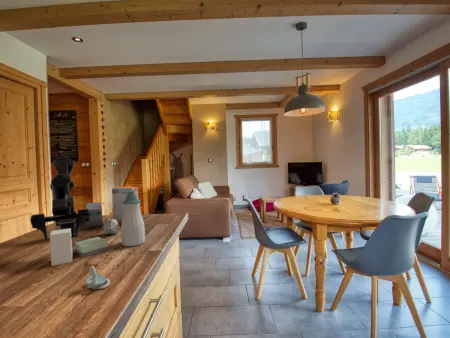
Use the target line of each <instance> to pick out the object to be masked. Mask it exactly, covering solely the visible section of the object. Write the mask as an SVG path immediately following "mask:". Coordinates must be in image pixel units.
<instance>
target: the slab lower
mask: <svg viewBox="0 0 450 338" xmlns="http://www.w3.org/2000/svg"><path fill="white" fill-rule="evenodd" d="M108 247H109V246H107V247H103V248H100V249H96V250H93V251H90V252H86V253H82V252H81V251H79V250H77V249H76V248H75V247H74V249H75V253H77V254H79V256H81V257H82V258H86V257H89V256H93V255H96V254H99V253H104V252H106V251H108V250H109V249H108Z"/></svg>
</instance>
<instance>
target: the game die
mask: <svg viewBox="0 0 450 338" xmlns="http://www.w3.org/2000/svg"><path fill="white" fill-rule="evenodd" d="M104 219H105V221H104V223H103V226H100V228H102V229H103V230H104V232H105V235H104V236H106V237H107V235H113V234H116V235H118V230H119V228H121V224H118V222H117V218H116V219H113V218H110V219H107V218H104Z"/></svg>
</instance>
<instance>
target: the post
mask: <svg viewBox="0 0 450 338" xmlns="http://www.w3.org/2000/svg"><path fill="white" fill-rule="evenodd" d="M72 238H73V237H71V228H69V229H61V230H60V229H56V230H55V229H53V230H51V231H50V234H49V241H50V242H49V244H50V259H51V262H50V263H51V267H54V266H59V265H64V264H69V263H70V264H71V263H72V262H73V243H72V242H73V239H72Z"/></svg>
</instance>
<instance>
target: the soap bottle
mask: <svg viewBox="0 0 450 338" xmlns="http://www.w3.org/2000/svg"><path fill="white" fill-rule="evenodd" d="M122 193H128V196H126V200H125V201H123V203H124V215H123V220H122V224H120V226H121V227H120V228H121V229H120V241H121V244H122V246H123V247H124V246H125V247H136V246H140V245H142V244H144V243H145V241H146V230H145V221H144V219H143V216H142V212H141V199H139V198H138V199H137V195H135V191H127V192H122Z"/></svg>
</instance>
